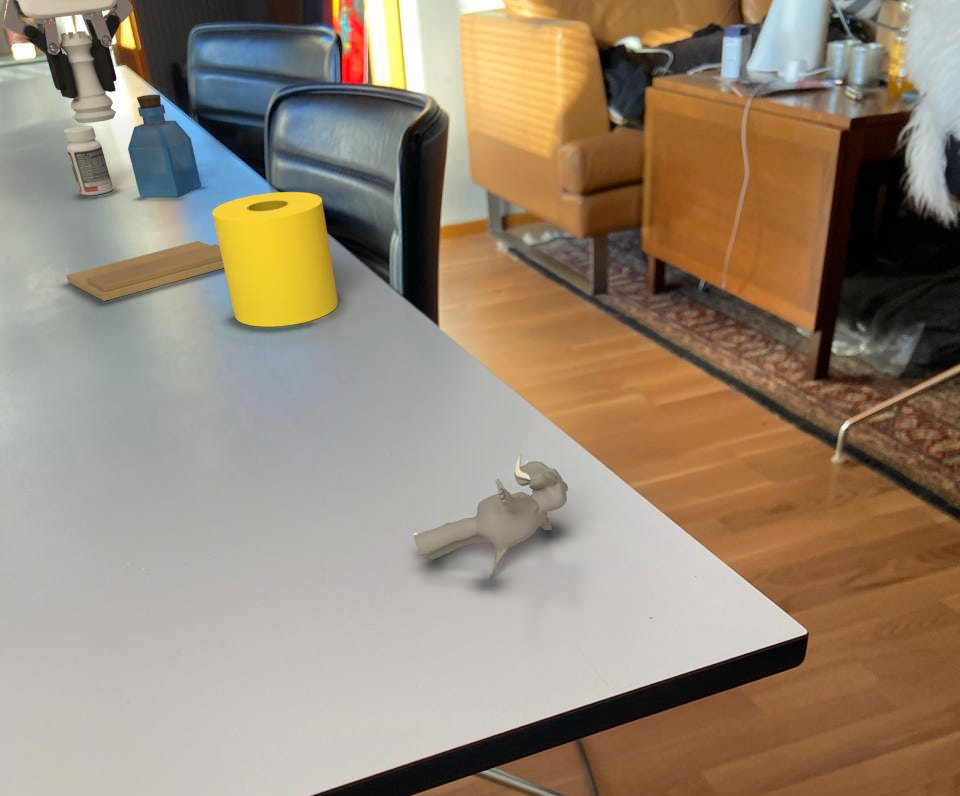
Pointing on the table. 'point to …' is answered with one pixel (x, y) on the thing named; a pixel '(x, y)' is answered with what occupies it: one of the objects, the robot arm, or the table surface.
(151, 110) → the perfume bottle
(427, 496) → the table surface
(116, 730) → the table surface
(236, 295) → the yellow toilet paper roll
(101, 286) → the wooden board
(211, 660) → the table surface
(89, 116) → the rook chess piece
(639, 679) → the table surface
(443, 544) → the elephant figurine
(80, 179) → the pill bottle
